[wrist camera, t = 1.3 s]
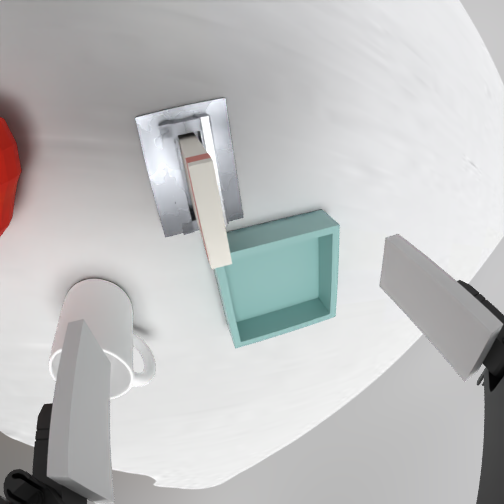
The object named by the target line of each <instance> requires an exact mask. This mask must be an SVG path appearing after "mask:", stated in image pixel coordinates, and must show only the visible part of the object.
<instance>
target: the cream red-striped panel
mask: <svg viewBox="0 0 504 504" xmlns="http://www.w3.org/2000/svg"><path fill="white" fill-rule="evenodd" d="M178 141H179V146H180V150H181V155H182V160H183V165H184V170H185V174H186V179H187V184H188V188H189V193H190V197H191V202H192V206H193V210H194V213H195V216H196V220H197V223H198V227H199V230H200V233H201V237H202V240H203V243H204V246H205V250H206V254H207V257H208V260H209V263H210V266H211V269H215V268H219V267H222V266H226V265H230V264H232V260H231V255H230V249H229V244H228V239H227V233H226V228H225V223H224V217H223V212H222V207H221V201H220V196H219V190H218V185H217V179H216V173H215V168H214V162H213V160H212V158H211V156H210V155H209V153H207V151H206V150H205V148H204V147H203V145H202V144H201V143H200V141H199V140H198V138H197V137H196V135H195V134H194V133H193V132H191V133H186V134H182V135H178Z"/></svg>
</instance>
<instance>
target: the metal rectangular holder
mask: <svg viewBox="0 0 504 504" xmlns="http://www.w3.org/2000/svg"><path fill="white" fill-rule="evenodd" d="M135 119H136V124H137V129H138V133H139V138H140V142H141V146H142V150H143V155H144V159H145V163H146V167H147V171H148V175H149V179H150V183H151V187H152V191H153V194H154V198H155V202H156V205H157V209H158V213H159V216H160V220H161V223H162V227H163V230H164V234H165V237H169V236H173V235H176V234H180V233H184V235H185V234H189V233H193V232H194V231H197V230H199V227H198V223H197V220H196V216H195V213H194V210H193V206H192V202H191V197H190V193H189V188H188V184H187V179H186V174H185V170H184V165H183V160H182V155H181V150H180V146H179V141H178V135H182V134H186V133H191V132H193V133H194V134H195V135H196V137H197V138H198V140H199V141H200V143H201V144H202V145H203V147H204V148H205V150H206V151H207V153H209V155H210V156H211V158H212V160H213V162H214V168H215V173H216V179H217V185H218V190H219V196H220V201H221V207H222V212H223V217H224V223H225V226H227V224H229V223H228V221H232V220H236V219H240V218H243V211H242V205H241V198H240V191H239V185H238V178H237V172H236V165H235V158H234V152H233V145H232V139H231V132H230V125H229V119H228V112H227V105H226V99H225V98H220V99H214V100H209V101H203V102H198V103H193V104H189V105H184V106H179V107H175V108H170V109H166V110H162V111H158V112H154V113H150V114H146V115H142V116H139V117H136V118H135Z"/></svg>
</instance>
